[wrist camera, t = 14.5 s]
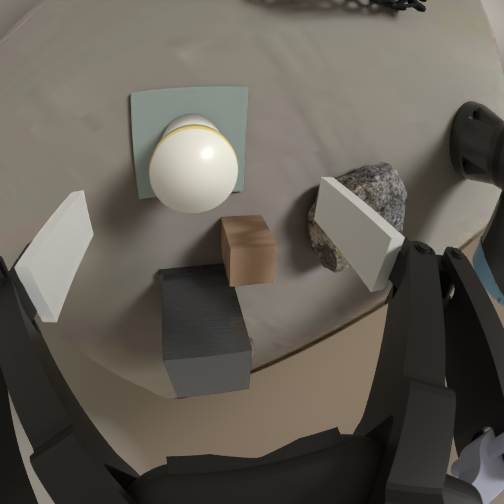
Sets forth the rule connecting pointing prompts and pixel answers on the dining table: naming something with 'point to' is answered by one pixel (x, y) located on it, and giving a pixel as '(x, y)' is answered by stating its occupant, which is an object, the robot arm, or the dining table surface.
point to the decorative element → (400, 5)
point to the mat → (179, 103)
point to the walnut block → (248, 250)
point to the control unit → (203, 332)
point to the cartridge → (193, 165)
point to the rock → (374, 195)
